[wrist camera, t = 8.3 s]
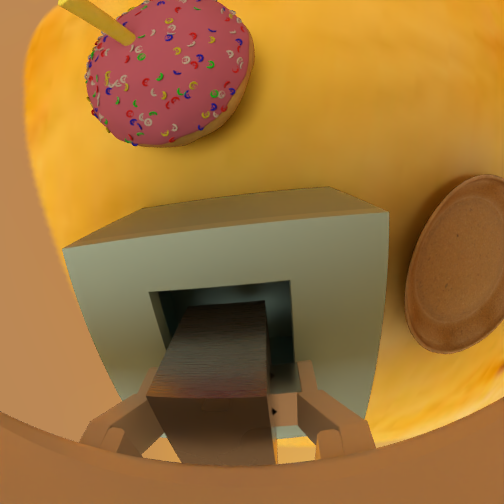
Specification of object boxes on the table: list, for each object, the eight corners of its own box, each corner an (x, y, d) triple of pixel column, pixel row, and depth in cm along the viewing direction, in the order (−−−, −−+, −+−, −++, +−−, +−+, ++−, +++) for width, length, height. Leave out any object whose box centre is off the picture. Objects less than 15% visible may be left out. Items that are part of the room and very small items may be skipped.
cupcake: (104, 113, 16) (-39, 92, 4) (175, 13, 13) (98, -93, 2) (204, 175, 17) (103, 207, 6) (283, 67, 15) (317, -59, 3)
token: (264, 300, 11) (266, 396, 6) (275, 392, 12) (278, 483, 7) (188, 305, 11) (145, 395, 6) (211, 396, 12) (194, 482, 8)
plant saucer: (457, 353, 22) (470, 369, 19) (354, 305, 20) (365, 323, 17) (529, 229, 17) (546, 236, 15) (447, 132, 16) (468, 131, 13)
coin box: (328, 186, 17) (389, 211, 9) (331, 336, 20) (362, 426, 12) (142, 208, 18) (62, 248, 9) (176, 348, 21) (142, 434, 13)
